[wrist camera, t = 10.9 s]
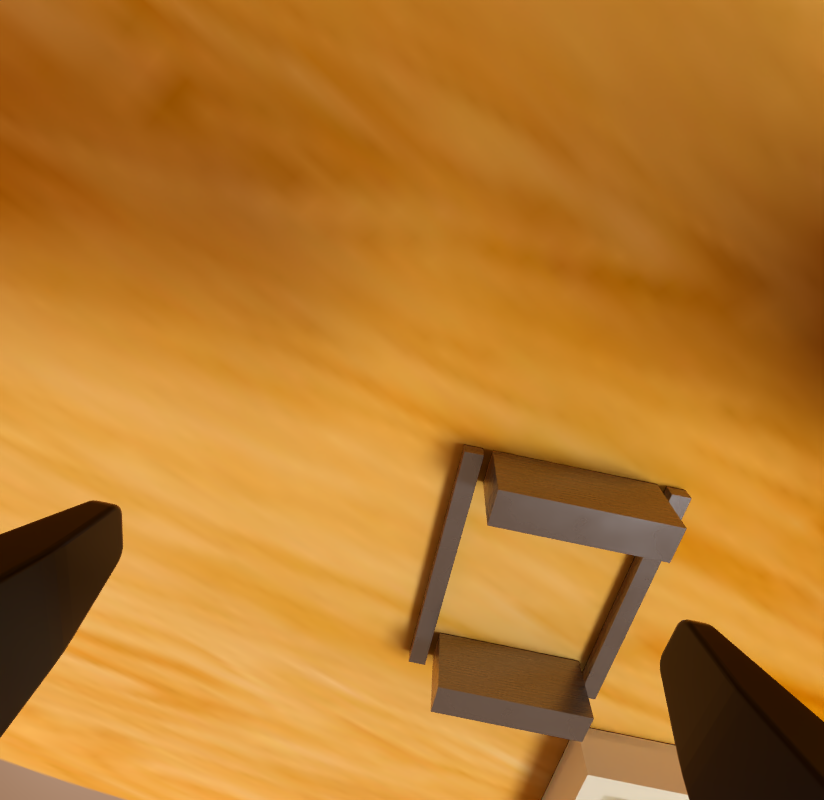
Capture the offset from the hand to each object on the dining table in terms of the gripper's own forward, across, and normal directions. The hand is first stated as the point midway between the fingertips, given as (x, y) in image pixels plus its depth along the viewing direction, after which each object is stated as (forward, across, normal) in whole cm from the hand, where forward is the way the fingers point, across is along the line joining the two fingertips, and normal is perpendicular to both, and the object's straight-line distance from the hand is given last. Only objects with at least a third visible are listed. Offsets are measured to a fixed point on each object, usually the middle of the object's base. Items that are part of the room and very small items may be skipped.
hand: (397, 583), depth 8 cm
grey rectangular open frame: (+13, -7, +10) cm, 18 cm away
